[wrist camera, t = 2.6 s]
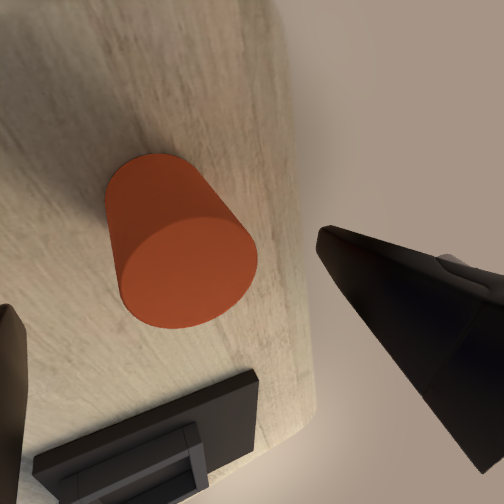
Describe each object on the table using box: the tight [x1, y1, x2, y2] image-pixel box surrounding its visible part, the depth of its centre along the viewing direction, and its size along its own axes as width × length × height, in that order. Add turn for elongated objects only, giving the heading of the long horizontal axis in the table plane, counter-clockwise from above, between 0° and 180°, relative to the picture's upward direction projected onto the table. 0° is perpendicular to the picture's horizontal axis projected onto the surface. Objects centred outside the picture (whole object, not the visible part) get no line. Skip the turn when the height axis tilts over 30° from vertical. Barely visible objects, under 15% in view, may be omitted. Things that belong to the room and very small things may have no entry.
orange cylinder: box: [105, 154, 257, 329], centre depth 11 cm, size 4×4×5 cm
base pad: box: [32, 370, 259, 504], centre depth 23 cm, size 14×12×2 cm
